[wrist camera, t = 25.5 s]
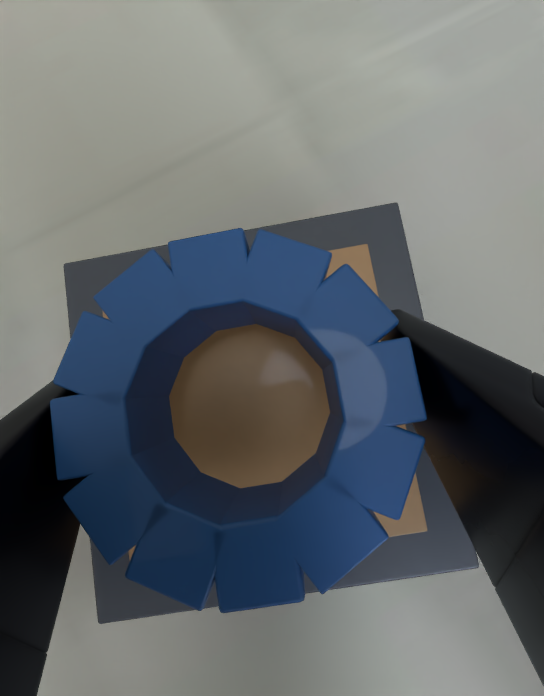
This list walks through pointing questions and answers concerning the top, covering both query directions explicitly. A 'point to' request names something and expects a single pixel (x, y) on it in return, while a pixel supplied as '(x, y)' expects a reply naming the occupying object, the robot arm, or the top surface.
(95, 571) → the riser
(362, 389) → the ring
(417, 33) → the top surface
